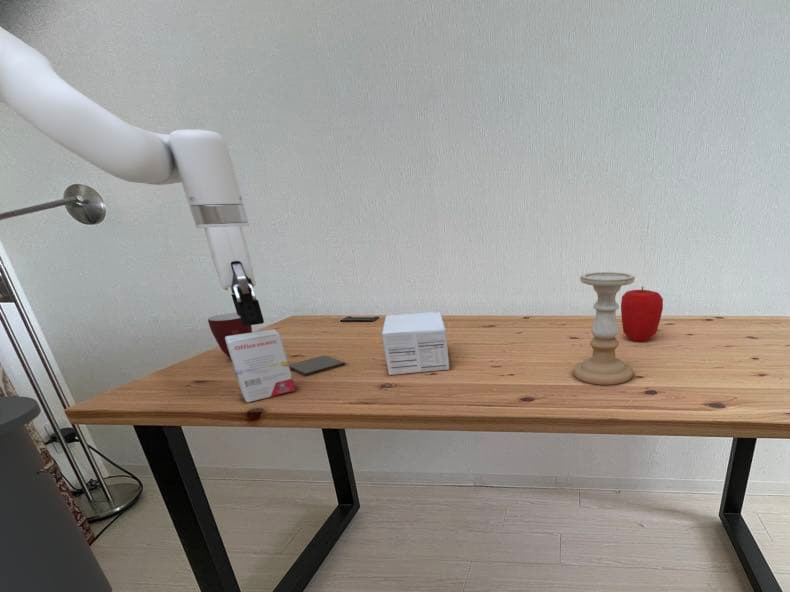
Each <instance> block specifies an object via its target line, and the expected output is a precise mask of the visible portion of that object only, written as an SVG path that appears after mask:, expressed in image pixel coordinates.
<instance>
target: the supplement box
mask: <svg viewBox="0 0 790 592" xmlns="http://www.w3.org/2000/svg"><path fill="white" fill-rule="evenodd" d="M381 337H382V338H381V339H382V345H383V350H384V356H385V363H386V367H387V372H388V376H393V375H394V376H395V375H403V374H415V373H424V372H426V373H427V372H435V371H446V370H447V371H449V370H450V359H449V349H448V337H447V329H446V326H445V323H444V320H443V316H442V312H441V311H429V312H428V311H427V312H418V313H417V312H416V313H402V314H388V315H385V319H384V323H383V327H382V332H381Z"/></svg>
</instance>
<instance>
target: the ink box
mask: <svg viewBox="0 0 790 592" xmlns="http://www.w3.org/2000/svg"><path fill="white" fill-rule="evenodd" d="M225 340H226V344H227V347H228V350H229V353H230V357H231V359H230V360H231V363H232V366H233V369H234V373H235V376H236V379H237V382H238V385H239V388H240V392H241V394H242V397H243V399H244V401H245V402H246V403H251V402H255V401H259V400H264V399H268V398H271V397H276V396H279V395H284V394H287V393H291V392H295V391H296V387H295V384H294V380H293V376H292V372H291V371H292V370H291V369H290V368H289V364H290V363H289V359H288V357H287V353H286V350H285V346H284V343H283V339H282V335H281V333H280V332H279V331H278V330H276V329H275V328H273V329H266V330H261V331H252V333H245V334H239V335H232V336H226V337H225Z"/></svg>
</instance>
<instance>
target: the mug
mask: <svg viewBox="0 0 790 592" xmlns="http://www.w3.org/2000/svg"><path fill="white" fill-rule="evenodd" d="M207 322H208V326H209V329H210V331H211V333H212V335H213V337H214V339H215V341H216V343H217V344H218V346H219V348H220V351H222V352H223V353H224V354H225V356H226V357H228V358H229V360H231V357H230V353H229V350H228V347H227V344H226V340H225V337H226V336H232V335H239V334H245V333H252V332H253V328H252V325H250V326H244V325H243V324H242V320H241V317H240V316H238V314H237V312H231V313H222V314H216V315H213V316H210V317H208V318H207Z"/></svg>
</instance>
